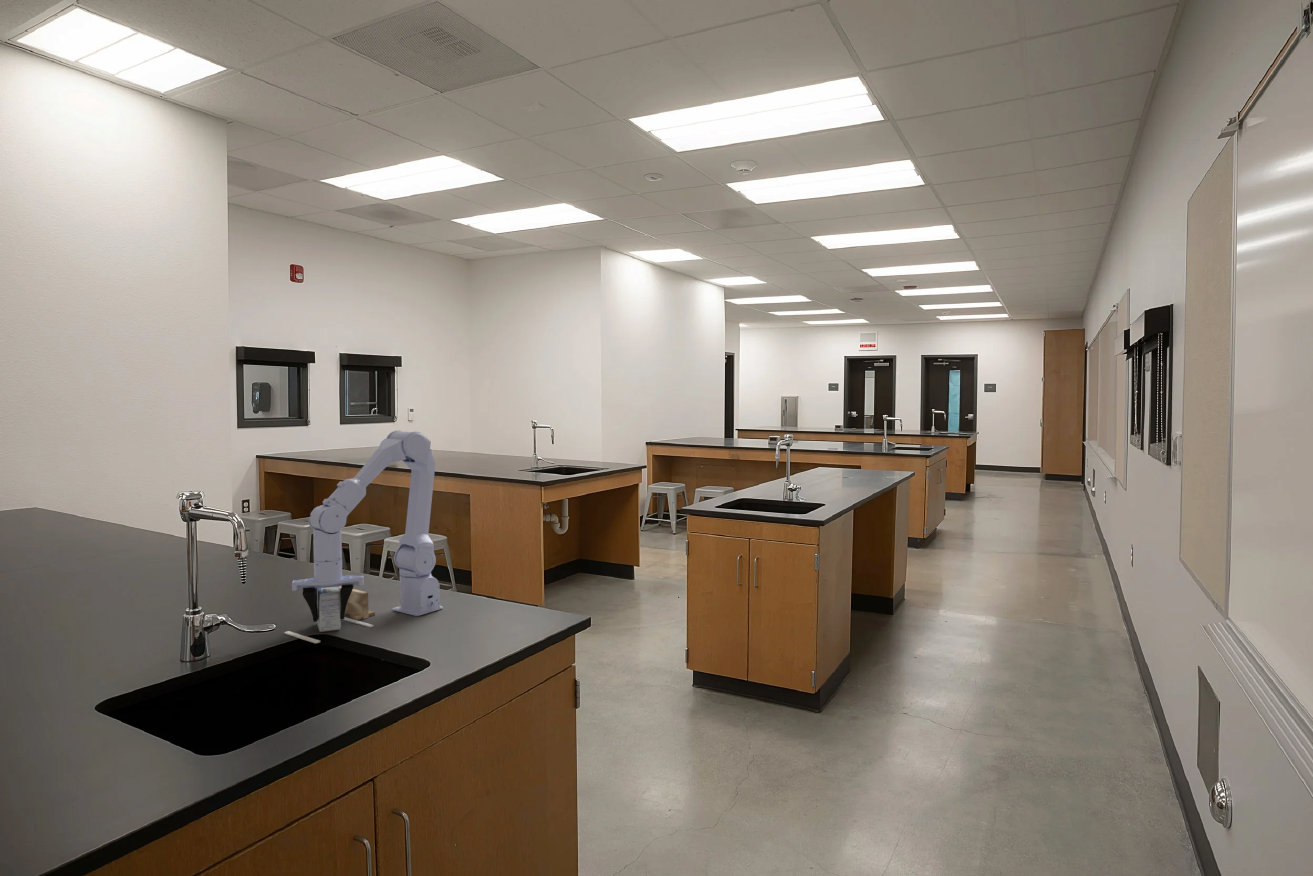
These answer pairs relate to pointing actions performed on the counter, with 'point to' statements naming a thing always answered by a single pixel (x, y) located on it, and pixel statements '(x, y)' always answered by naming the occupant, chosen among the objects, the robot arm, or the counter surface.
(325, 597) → the medicine box
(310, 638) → the tape marks
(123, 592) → the counter surface
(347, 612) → the wooden board with feet
